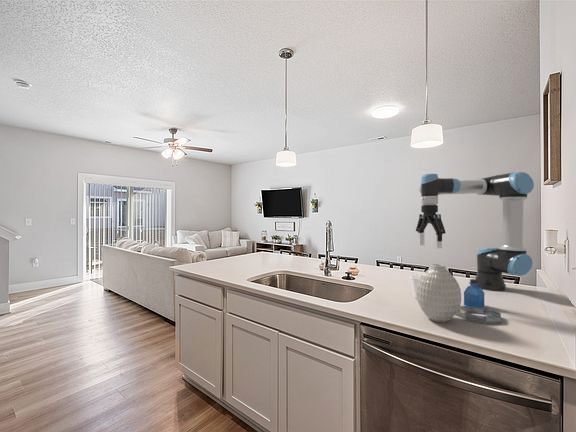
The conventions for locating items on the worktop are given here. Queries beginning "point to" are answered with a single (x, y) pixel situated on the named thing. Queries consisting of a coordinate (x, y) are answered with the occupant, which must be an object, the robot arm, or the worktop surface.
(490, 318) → the ring
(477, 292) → the perfume bottle
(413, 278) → the cup
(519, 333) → the worktop surface
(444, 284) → the vase
